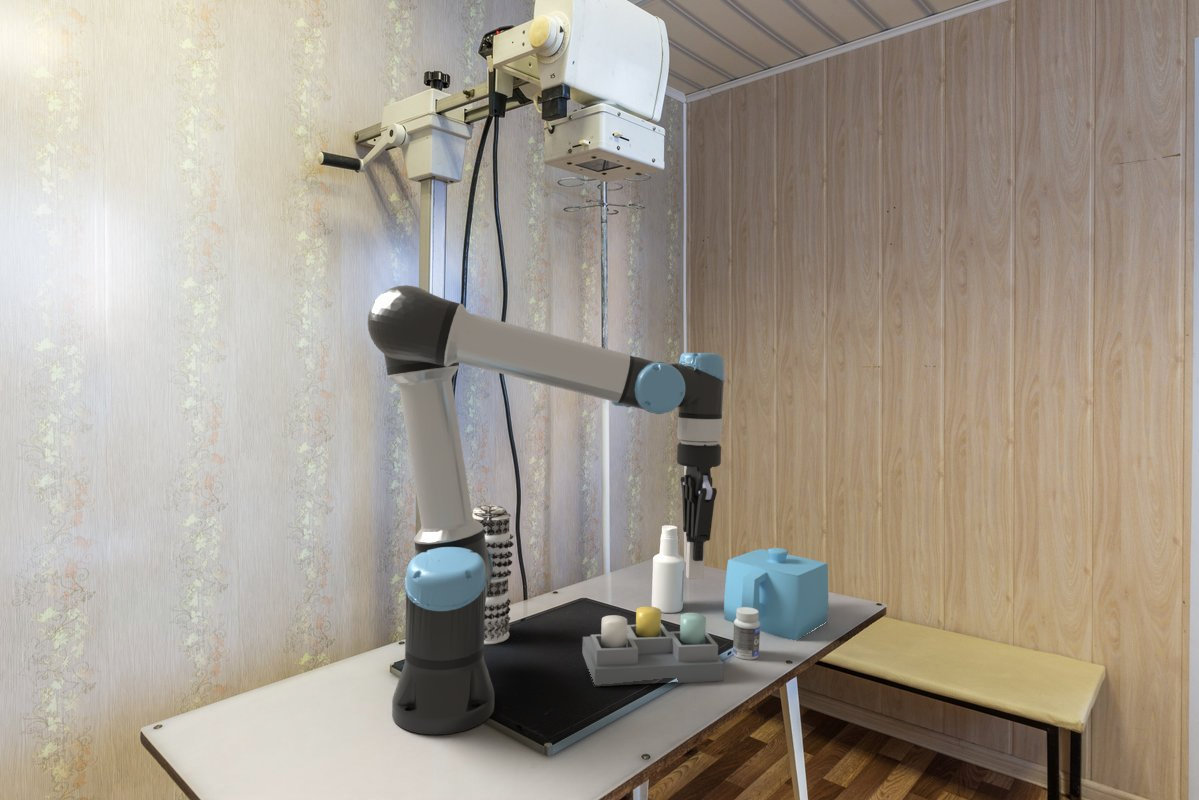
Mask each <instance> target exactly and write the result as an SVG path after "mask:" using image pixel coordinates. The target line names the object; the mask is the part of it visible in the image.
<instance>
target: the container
mask: <svg viewBox="0 0 1199 800" xmlns="http://www.w3.org/2000/svg"><path fill="white" fill-rule="evenodd" d="M788 553H789V550H787V549H785V548H781V547H771V548H768V549H763V548H759V549H756V550H752V551H749V552H747V553H743V554H741V555H738V556H734V557H732V558H730V559H728V560H727V566H726V574H725V575H726V577H725V584H724V585H725V586H724V599H723V616H724V617H723V618H724V620H726V621H728V622H730V623H731V622H732V623H734V621H735V619H737V617H736V611H737V609H738V608H741V607H749V608H754V609H756V610H758V616H759V618H758V621H759V623H760V632H763V633H767V634H771V635H774V636H777V637H780V638H783V637H784V639H787V640H791V639H792V640H791V641H795V640H797V639H799V638H800V637H802V636H804V635H806V634H807V633H809V632H811V631H812V630H814V629H815V628H817V627H819V626H820V625H822V624H824V623H825V622H826V623H827V621H828V614H829V569H828V568H829V567H828V563H827V562H823V561H819V560H815V559H810V558H807V557H801V556H797V555H792V554H788ZM811 633H812V632H811ZM806 636H807V635H806ZM804 637H805V636H804ZM802 638H803V637H802ZM799 640H800V639H799ZM797 641H798V640H797Z"/></svg>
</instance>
